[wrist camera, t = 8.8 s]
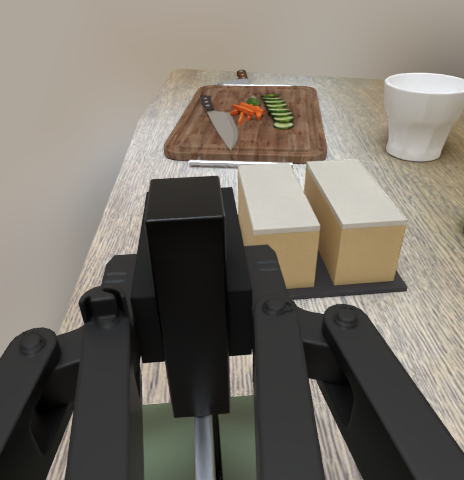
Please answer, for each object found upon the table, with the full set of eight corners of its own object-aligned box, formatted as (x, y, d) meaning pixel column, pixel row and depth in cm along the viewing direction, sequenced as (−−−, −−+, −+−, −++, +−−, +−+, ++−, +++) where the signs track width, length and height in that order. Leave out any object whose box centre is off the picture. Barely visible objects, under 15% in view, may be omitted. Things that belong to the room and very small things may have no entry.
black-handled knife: (240, 609, 18) (236, 289, 8) (191, 614, 18) (131, 296, 8) (225, 430, 24) (213, 140, 15) (189, 433, 24) (155, 142, 15)
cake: (406, 290, 43) (423, 224, 39) (244, 303, 42) (243, 236, 38) (354, 210, 56) (362, 154, 52) (229, 218, 55) (228, 162, 51)
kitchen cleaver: (215, 72, 118) (252, 68, 118) (216, 76, 119) (252, 72, 119) (217, 98, 98) (262, 94, 98) (218, 102, 99) (262, 98, 99)
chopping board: (328, 171, 66) (331, 152, 64) (156, 166, 69) (153, 147, 67) (314, 89, 103) (315, 75, 101) (202, 88, 106) (201, 74, 104)
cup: (451, 142, 75) (469, 74, 69) (457, 171, 65) (478, 96, 59) (375, 135, 78) (386, 70, 72) (370, 162, 69) (382, 90, 62)
